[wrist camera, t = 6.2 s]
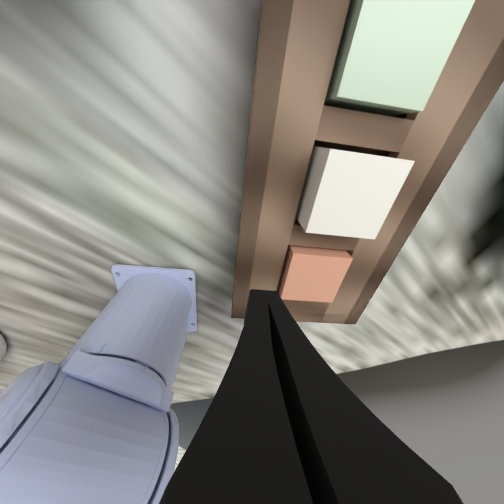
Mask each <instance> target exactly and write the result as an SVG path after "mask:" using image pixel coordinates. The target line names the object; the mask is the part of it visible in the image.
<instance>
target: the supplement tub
mask: <svg viewBox="0 0 504 504" xmlns="http://www.w3.org/2000/svg"><path fill="white" fill-rule="evenodd" d="M6 349H7V345H6V342H5V340H4V338H3V336H2V335H1V334H0V361H1V360H2V358H3V357H4V355H5V353H6Z"/></svg>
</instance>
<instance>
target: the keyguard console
mask: <svg viewBox="0 0 504 504" xmlns="http://www.w3.org/2000/svg"><path fill="white" fill-rule="evenodd" d="M349 4H350V0H261V10H260V21H259V31H258V41H257V51H256V61H255V72H254V82H253V92H252V102H251V112H250V122H249V133H248V143H247V153H246V163H245V173H244V183H243V194H242V204H241V214H240V224H239V234H238V244H237V255H236V265H235V275H234V285H233V300H232V315H231V318H245V312H246V306H247V301H248V296H249V291H250V290H251V289H259V290H271V291H277V292H278V293H279V290H278V283H279V279H280V275H281V271H282V267H283V263H284V259H285V256H286V252H287V248H288V245H297V246H308V247H319V248H330V249H341V250H346V251H347V252H348V254H349V255H350V256H351V257H352V258H353V260H352V262H351V264H350V266H349V268H348V270H347V272H346V275H345V277H344V279H343V281H342V283H341V285H340V287H339V289H338V292H337V294H336V296H335V298H334V300H333V302H332V303H330V302H315V301H299V300H283V299H282V300H283V302H284V304H285V305H286V307H287V309H288V310H289V312H290V313H291V315H292V317H293V318H294V320H295V321H302V322H321V323H340V324H356V322H357V321H358V319H359V317H360V316H361V314H362V312H363V311H364V309H365V308H366V306H367V304H368V303H369V301H370V299H371V298H372V296H373V294H374V293H375V291H376V289H377V288H378V286H379V285H380V283H381V281H382V280H383V278H384V276H385V275H386V273H387V271H388V270H389V268H390V266H391V265H392V263H393V261H394V260H395V258H396V257H397V255H398V253H399V252H400V250H401V248H402V247H403V245H404V243H405V242H406V240H407V238H408V237H409V235H410V234H411V232H412V230H413V229H414V227H415V225H416V224H417V222H418V220H419V219H420V217H421V215H422V214H423V212H424V211H425V209H426V207H427V206H428V204H429V202H430V201H431V199H432V197H433V196H434V194H435V192H436V191H437V189H438V188H439V186H440V184H441V183H442V181H443V179H444V178H445V176H446V174H447V173H448V171H449V169H450V168H451V166H452V164H453V163H454V161H455V160H456V158H457V156H458V155H459V153H460V151H461V150H462V148H463V146H464V145H465V143H466V141H467V140H468V138H469V137H470V135H471V133H472V132H473V130H474V128H475V127H476V125H477V123H478V122H479V120H480V118H481V117H482V115H483V114H484V112H485V110H486V109H487V107H488V105H489V104H490V102H491V100H492V99H493V97H494V95H495V94H496V92H497V90H498V89H499V87H500V86H501V84H502V82H503V81H504V0H475V2H474V4H473V6H472V8H471V10H470V13H469V15H468V17H467V19H466V21H465V23H464V25H463V27H462V29H461V32H460V34H459V36H458V38H457V40H456V42H455V44H454V46H453V48H452V51H451V53H450V55H449V57H448V59H447V61H446V63H445V65H444V68H443V70H442V72H441V74H440V76H439V78H438V80H437V82H436V84H435V87H434V89H433V91H432V93H431V95H430V97H429V99H428V101H427V103H426V106H425V108H424V110H423V111H422V112H414V113H407V114H400V115H392V116H384V115H378V114H372V113H366V112H360V111H354V110H349V109H343V108H337V107H331V106H325V105H324V102H325V98H326V94H327V90H328V86H329V82H330V78H331V74H332V70H333V67H334V63H335V59H336V55H337V51H338V47H339V43H340V39H341V35H342V31H343V27H344V23H345V19H346V15H347V11H348V8H349ZM313 146H316V147H323V148H330V149H336V150H343V151H350V152H357V153H364V154H371V155H378V156H384V157H391V158H398V159H405V160H412V161H415V162H414V164H413V166H412V168H411V170H410V172H409V174H408V176H407V178H406V180H405V182H404V184H403V186H402V187H401V189H400V191H399V193H398V195H397V197H396V199H395V201H394V203H393V205H392V207H391V209H390V211H389V213H388V215H387V217H386V219H385V221H384V223H383V225H382V227H381V229H380V230H379V232H378V234H377V236H376V238H375V239H365V238H355V237H345V236H335V235H325V234H315V233H306V232H305V231H304V229H303V228H302V226H301V224H300V223H299V221H298V220H297V218H296V217H295V216H296V212H297V208H298V204H299V200H300V196H301V193H302V189H303V185H304V181H305V177H306V173H307V169H308V165H309V161H310V157H311V153H312V149H313ZM279 295H280V294H279Z"/></svg>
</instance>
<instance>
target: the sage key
mask: <svg viewBox="0 0 504 504" xmlns="http://www.w3.org/2000/svg"><path fill="white" fill-rule="evenodd" d="M474 2H475V0H350V4H349V8H348V11H347V15H346V19H345V23H344V27H343V31H342V35H341V39H340V43H339V47H338V51H337V55H336V59H335V63H334V67H333V70H332V74H331V78H330V82H329V86H328V90H327V94H326V98H325V102H324V105H325V106H331V107H337V108H343V109H349V110H354V111H360V112H366V113H372V114H378V115H384V116H392V115H400V114H407V113H414V112H422V111H423V110H424V108H425V106H426V103H427V101H428V99H429V97H430V95H431V93H432V91H433V89H434V87H435V84H436V82H437V80H438V78H439V76H440V74H441V72H442V70H443V68H444V65H445V63H446V61H447V59H448V57H449V55H450V53H451V51H452V48H453V46H454V44H455V42H456V40H457V38H458V36H459V34H460V32H461V29H462V27H463V25H464V23H465V21H466V19H467V17H468V15H469V13H470V10H471V8H472V6H473V4H474Z"/></svg>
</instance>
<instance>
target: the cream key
mask: <svg viewBox="0 0 504 504" xmlns="http://www.w3.org/2000/svg"><path fill="white" fill-rule="evenodd" d="M414 162H415V161H412V160H405V159H398V158H391V157H384V156H378V155H371V154H364V153H357V152H350V151H343V150H336V149H330V148H323V147H316V146H313V149H312V153H311V157H310V161H309V165H308V169H307V173H306V177H305V181H304V185H303V189H302V193H301V196H300V200H299V204H298V208H297V212H296V216H295V217H296V218H297V220H298V221H299V223H300V224H301V226H302V228H303V229H304V231H305V232H306V233H315V234H325V235H335V236H345V237H355V238H365V239H375V238H376V236H377V234H378V232H379V230H380V229H381V227H382V225H383V223H384V221H385V219H386V217H387V215H388V213H389V211H390V209H391V207H392V205H393V203H394V201H395V199H396V197H397V195H398V193H399V191H400V189H401V187H402V186H403V184H404V182H405V180H406V178H407V176H408V174H409V172H410V170H411V168H412V166H413V164H414Z"/></svg>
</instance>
